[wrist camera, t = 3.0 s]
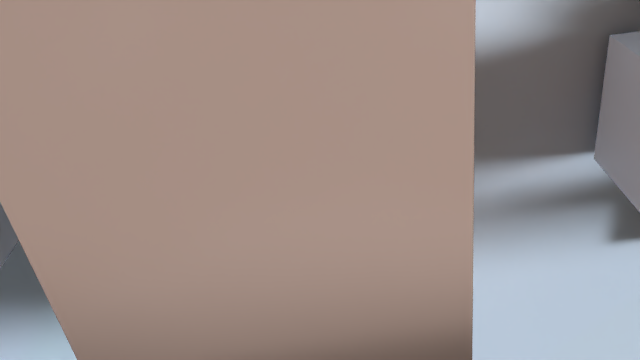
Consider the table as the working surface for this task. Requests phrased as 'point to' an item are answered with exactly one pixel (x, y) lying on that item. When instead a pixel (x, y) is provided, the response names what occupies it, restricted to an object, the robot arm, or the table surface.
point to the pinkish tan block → (244, 175)
